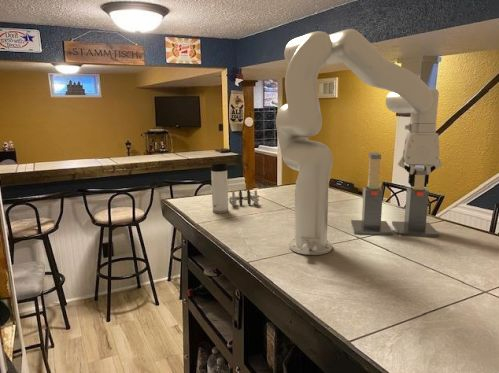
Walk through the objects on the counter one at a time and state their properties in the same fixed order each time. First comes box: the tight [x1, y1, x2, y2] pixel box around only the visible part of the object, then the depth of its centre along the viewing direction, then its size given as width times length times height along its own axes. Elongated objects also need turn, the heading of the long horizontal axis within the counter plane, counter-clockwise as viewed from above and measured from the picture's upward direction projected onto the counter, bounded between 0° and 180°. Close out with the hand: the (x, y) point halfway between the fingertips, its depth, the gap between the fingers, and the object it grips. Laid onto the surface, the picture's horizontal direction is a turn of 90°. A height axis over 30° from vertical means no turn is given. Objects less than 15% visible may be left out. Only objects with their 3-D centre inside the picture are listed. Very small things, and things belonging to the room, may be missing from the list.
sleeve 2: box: [391, 186, 440, 238], centre depth 126 cm, size 12×12×14 cm
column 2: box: [411, 167, 427, 191], centre depth 125 cm, size 6×3×19 cm, turn 171°
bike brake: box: [228, 189, 260, 207], centre depth 167 cm, size 14×7×20 cm
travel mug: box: [210, 162, 229, 214], centre depth 151 cm, size 6×7×20 cm
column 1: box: [367, 151, 382, 190], centre depth 126 cm, size 6×3×19 cm, turn 171°
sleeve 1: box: [350, 186, 394, 236], centre depth 128 cm, size 12×12×14 cm
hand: (417, 185), depth 124 cm, fingers closed on column 2, 3 cm apart
